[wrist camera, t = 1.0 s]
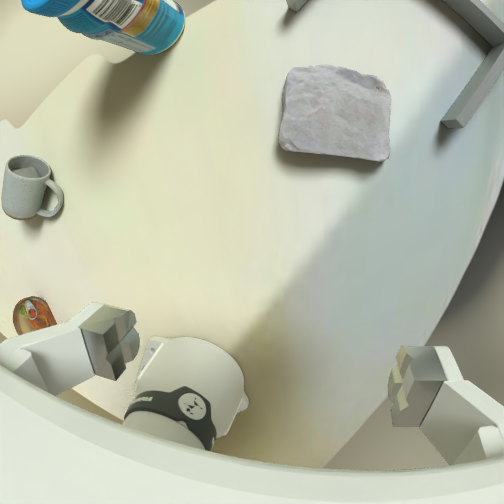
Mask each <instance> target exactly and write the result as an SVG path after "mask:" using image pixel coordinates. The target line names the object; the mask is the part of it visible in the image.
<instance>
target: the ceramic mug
mask: <svg viewBox="0 0 504 504" xmlns="http://www.w3.org/2000/svg"><path fill="white" fill-rule="evenodd" d="M50 174H51V169H50V167H49V165H48V164H47V163H46V162H45V161H43V160H42V159H40V158H37V157H34V156H30V155H20V156H15V157H12V158H10V159H9V160H8V161H7V163H6V166H5V174H4V180H3V189H2V208H3V210H4V212H5V213H6V214H7V215H8V216H9V217H11V218H13V219H17V220H27V219H30V218H32V217H34V216H35V215H36V214H38V215H40V216H43V217H51V216H54V215H55V214H57V212H58V211H59V210H60V209H61V207H62V205H63V200H64V197H63V193H62V190H61V189H60V187H59V186H58V185H57V184H56V183H55V182H54V181H52V180H51V179H50V178H49V177H50ZM47 185H48V186H49V187H50V188H51V189H52V190H53V191H54V192H55V194H56V195H57V198H58V201H59V203H58V205H57V206H56V207H55V208H54V211H46V210H43V209H41V208H40V207H41V203H42V200H43V196H44V192H45V190H46V187H47Z"/></svg>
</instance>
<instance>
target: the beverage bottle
mask: <svg viewBox="0 0 504 504" xmlns="http://www.w3.org/2000/svg"><path fill="white" fill-rule="evenodd" d="M21 1H22V5H23V7H24V8H25V9H26V10H27V11H29V12H31V13H35V14H39V15H43V16H47V17H58V19H59V20H60V22H61V23H62V24H63V25H64V26H65V27H66V28H67V29H69V30H70V31H72V32H76V33H82V34H83V35H84V36H86V37H89V38H91V39H96V40H103V41H106V42H109V43H112V44H116V45H118V46H122V47H125V48H127V49H130V50H133V51H135V52H137V53H140V54H143V55H153V54H157V53H160V52H162V51H164V50H166V49H168V48H169V47H170V46H172V45H173V44H174V43H175V42H176V41H177V39H178V38H179V37H180V35H181V33H182V31H183V28H184V25H185V14H184V12H183V9H182V8H181V6H180V5H179V4H178V3H177V2H175V1H174V0H21Z"/></svg>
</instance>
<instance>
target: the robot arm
mask: <svg viewBox="0 0 504 504" xmlns="http://www.w3.org/2000/svg"><path fill="white" fill-rule="evenodd" d="M135 324H136V318H135V313H133V312H132V311H131V310H128V309H123V308H119V307H115V306H111V305H106V304H103V303H99V302H92V303H91V304H90V305H88V306H87V307H86V308H85V309H83V310H82V311H81V312H80V313H78V314H77V315H76V316H75V317H73V318H72V319H71V320H70V321H69V322H67V323H66V324H64V323H61V324H57V325H54V326H50V327H47V328H43V329H40V330H37V331H33V332H30V333H26V334H23V335H19V336H16V337H12V338H9V339H6V340H5V341H3V342H2V343H1V344H0V504H504V407H503V406H502V405H501V404H499V403H498V402H496V401H495V400H494V399H493V398H491V397H490V396H489V395H487V394H486V393H485V392H483V391H482V390H480V389H479V388H478V387H476V386H475V385H474V384H472V383H471V382H469V381H468V380H466V381H464V380H463V377H462V375H461V373H460V371H459V368H458V366H457V364H456V362H455V359H454V357H453V355H452V353H451V351H450V349H449V348H448V347H447V346H432V347H423V346H401V347H400V348H399V350H398V353H397V356H396V359H397V363H398V364H397V365H396V366H395V367H394V368H392V370H391V374H390V377H389V382H388V397H389V400H390V401H391V402H392V403H393V405H392V407H391V410H390V411H391V417H392V424H393V427H420V430H421V431H422V432H423V433H424V435H425V436H426V437H427V438H428V439H429V441H430V442H431V443H432V444H433V446H434V447H435V448H436V449H437V450H438V452H439V453H440V454H441V455H442V457H443V458H444V459H445V460H446V461H447V463H448V464H449V466H441V467H431V468H419V469H404V470H339V469H322V468H310V467H300V466H291V465H282V464H275V463H268V462H262V461H255V460H250V459H244V458H239V457H234V456H229V455H224V454H219V453H215V452H211V451H212V449H213V447H214V442H215V440H216V438H220V437H222V436H225V435H226V434H227V433H228V431H229V429H230V427H231V425H232V423H233V420H234V418H235V416H236V414H237V413H239V412H241V411H243V410H245V409H247V407H248V405H249V400H248V398H247V396H246V394H245V392H244V377H243V373H242V371H241V369H240V367H239V365H238V364H237V363H236V361H235V360H234V359H233V358H232V357H231V356H230V355H229V354H228V353H227V352H226V351H224V350H223V349H221V348H220V347H218V346H216V345H215V344H213V343H210V342H208V341H205V340H202V339H198V338H193V337H178V338H172V339H167V338H163V337H159V336H152V337H150V339H149V341H148V343H147V346H146V349H145V352H144V355H143V359H142V362H141V365H140V369H139V372H138V375H137V379H136V382H135V386H134V391H135V393H136V394H135V399H134V401H133V402H132V403H131V404H130V406H129V407H128V409H127V412H126V414H125V417H124V422H123V424H122V425H121V424H118V423H116V422H113V421H111V420H108V419H106V418H103V417H101V416H98V415H96V414H93V413H91V412H89V411H86V410H84V409H82V408H80V407H77V406H75V405H73V404H71V403H69V402H67V401H64V400H62V399H60V398H58V397H56V395H58V394H60V393H62V392H64V391H66V390H68V389H70V388H72V387H74V386H76V385H78V384H80V383H82V382H84V381H86V380H88V379H89V378H91V377H93V376H95V375H98V376H101V377H104V378H107V379H111V380H114V381H116V380H117V379H118V378H119V377H120V375H121V374H122V373H123V372H124V370H125V369H126V365H125V363H127V362H130V361H132V360H133V359H134V358H135V357H136V355H137V353H138V350H139V347H140V339H139V334H138V332H137V331H136V330H135V328H134V326H135ZM153 348H154V349H153Z"/></svg>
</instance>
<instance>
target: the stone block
mask: <svg viewBox="0 0 504 504" xmlns="http://www.w3.org/2000/svg"><path fill="white" fill-rule="evenodd" d="M282 103H283V117H282V122H281V125H280V129H279V135H278V140H279V143H280V147H281V148H282V149H284V150H285V151H296V152H305V153H315V154H325V155H335V156H345V157H351V158H360V159H365V160H372V161H380V162H382V161H384V160H386V159H388V158H389V155H390V146H389V142H390V139H389V126H390V105H391V96H390V92H389V90H388V89H386V86H385V84H384V83H383V81H381V80H380V79H378V78H377V77H376V76H373V75H363V74H360V73H358V72H357V71H354V70H350V69H347V68H343V67H335V66H330V65H319V66H315V67H314V66H308V67H295V68H293V69H291V71H290V72H289V73H288V75H287V77H286V81H285V86H284V92H283V95H282Z"/></svg>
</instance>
